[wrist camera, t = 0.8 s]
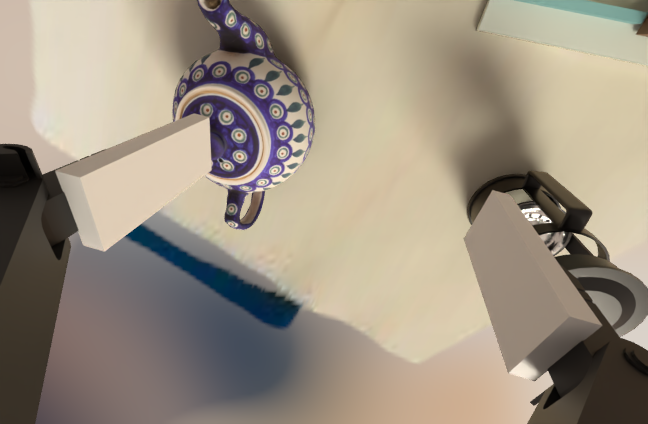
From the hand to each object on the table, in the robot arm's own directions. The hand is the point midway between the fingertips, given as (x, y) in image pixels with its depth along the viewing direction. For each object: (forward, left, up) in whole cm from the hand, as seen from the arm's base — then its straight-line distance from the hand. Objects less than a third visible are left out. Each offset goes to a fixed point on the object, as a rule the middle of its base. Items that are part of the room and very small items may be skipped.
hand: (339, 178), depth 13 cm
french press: (+9, +21, -24) cm, 33 cm away
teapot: (+5, -12, -24) cm, 28 cm away
